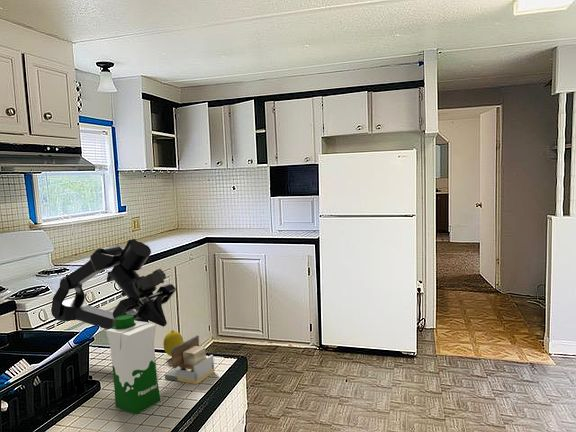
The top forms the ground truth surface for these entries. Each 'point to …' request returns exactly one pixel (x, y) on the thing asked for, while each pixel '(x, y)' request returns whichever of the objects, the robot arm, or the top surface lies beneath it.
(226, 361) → the top surface
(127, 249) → the robot arm
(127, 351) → the milk carton
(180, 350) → the trolley
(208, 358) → the dock
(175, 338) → the lemon
